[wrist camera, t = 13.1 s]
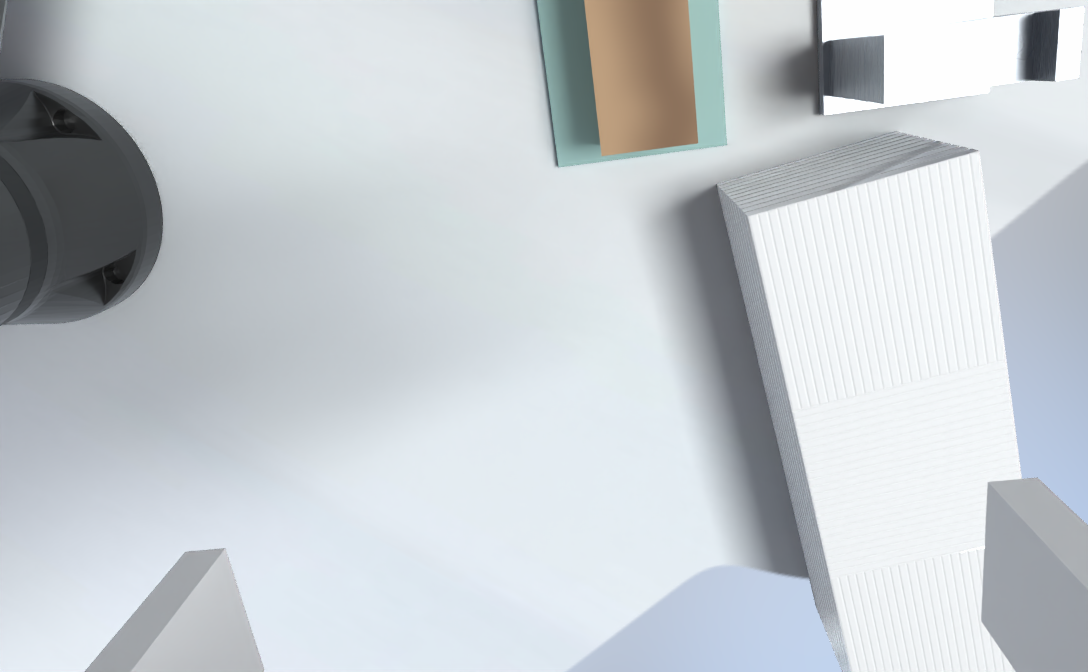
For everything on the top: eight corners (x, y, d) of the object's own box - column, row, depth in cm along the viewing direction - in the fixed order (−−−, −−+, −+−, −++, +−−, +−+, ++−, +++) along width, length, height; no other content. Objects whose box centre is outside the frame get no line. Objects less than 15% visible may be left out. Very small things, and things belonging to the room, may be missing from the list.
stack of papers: (966, 574, 55) (1049, 689, 45) (815, 605, 57) (862, 722, 47) (894, 131, 46) (979, 150, 36) (715, 183, 47) (748, 216, 37)
